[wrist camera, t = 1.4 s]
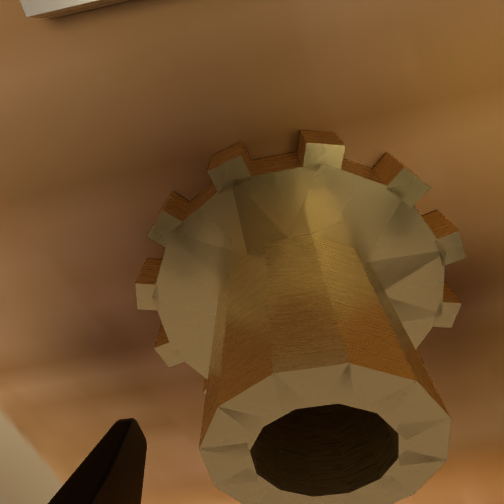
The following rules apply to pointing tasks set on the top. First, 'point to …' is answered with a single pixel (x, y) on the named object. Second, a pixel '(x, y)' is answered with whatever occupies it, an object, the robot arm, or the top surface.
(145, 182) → the top surface
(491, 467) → the top surface
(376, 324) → the gear
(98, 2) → the carrier plate
